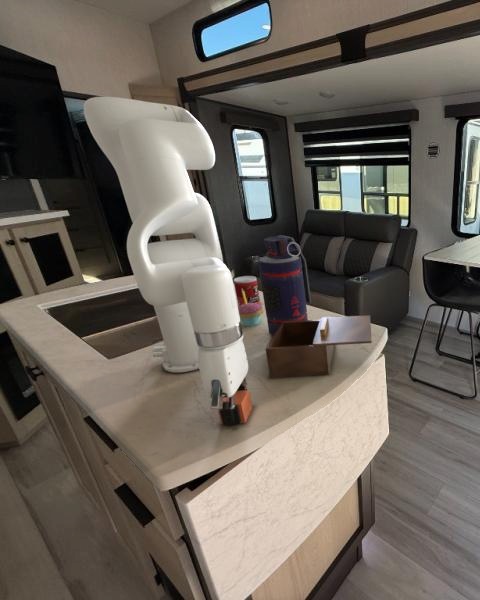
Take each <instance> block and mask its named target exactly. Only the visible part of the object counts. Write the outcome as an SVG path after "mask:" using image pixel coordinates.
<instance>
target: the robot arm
mask: <svg viewBox="0 0 480 600" xmlns="http://www.w3.org/2000/svg"><path fill="white" fill-rule="evenodd" d="M83 114H84V119H85V121H86V124H87V126H88V128H89V130H90V134H91V136H92V137H93V139H94V140H95V142H96V143H97V146H98V147H99V148H100V150H101V151H102V152H103V154H104V155H105V156H106V158H107V159H108V161H109V162H110V163H111V165H112V166H113V168H114V170H115V173H116V175H117V177H118V181H119V184H120V187H121V191H122V194H123V197H124V200H125V203H126V207H127V211H128V213H129V216H130V219H131V222H132V224H131V227H130V229H129V231H128V234H127V239H126V253H127V258H128V261H129V264H130V267H131V271H132V273H133V277H134V280H135V282H136V284H137V287H138V291H139V292H140V294H141V296H142V298H143V300H144V301H145V302H147V304H149V305H151V306H153V309H154V312H155V315H156V319H157V322H158V325H159V329H160V333H161V337H162V340H163V343H164V346H162V345H161V346H160V345H159V346H154V347H153V349H152V357H153V358H163V359H164V360H163V362H162V367H163V369H164V370H165V372H169V373H175V374H176V373H178V374H179V373H188V372H193V371H196V370H199V377H200V382H201V383H200V384H201V387H202V391H203V395H204V398H205V399H206V400H209V399H211V401H210V409H211V410H217V411H218V410H220V414H221V419H222V423H223V424H222V425H223V426H232V425H233V426H234V425H239V424H241V423H240V422H241V418H240V414H239V409H238V405H237V406H235V396H234V394H235V392H236V391H243V390H248V388H247V387H248V383H247V378H246V377H247V374H248V371H249V361H248V357H247V352H246V348H245V344H244V340H243V339H244V333H243V326H242V321H241V320H240V316H239V311H238V307H239V306H238V301H237V296H236V291H235V286H234V278H233V275H232V272H231V271H230V269H229V268H228V266H227V265H226V264H225V263H224V258H223V257H224V256H223V253H222V249H221V244H220V240H219V235H218V231H217V227H216V221H215V218H214V214H213V211H212V208H211V204H209V201H208V200H207V198H206V197H204V196H203V195H202V194H200V193H197V192H195V191H194V189H193V186H192V183H191V180H190V177H189V174H188V171H187V170H191V171H192V170H193V171H194V170H195V171H206V170H208V171H209V170H210V169H212V168H213V167H214V165H215V162H216V153H215V149H214V145H213V142H212V139H211V138H210V135H209V133H208V132H207V130H206V129H205V127H204V126H203V125H202V124H201V123H200V122H199V121H198V119H196V118H195V117H194V116H193V114H192V113H190V112H189V110H187V109H185V108H183V107H181V106H177V105H173V104H167V103H166V104H165V103H159V102H151V101H144V100H139V99H131V98H126V97H125V98H124V97H116V96H94V97H91V98H90V97H89V98H88V99H86V100H85V101H84V103H83ZM181 234H192V235H194V237H192V238H184V239H171V240H162V241H155V242H149V240H150V237H152V236H153V237H156V236H170V235H181ZM225 397H229V402H227V401H226V402H223V399H222V398H225Z"/></svg>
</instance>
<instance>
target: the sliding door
mask: <svg viewBox="0 0 480 600" xmlns="http://www.w3.org/2000/svg"><path fill="white" fill-rule="evenodd" d="M319 320H320V321H319V325H318V328H317V331H316V334H315V337H314V341H313V344H312V345H313V346H326V345H334V346H345V345H360V344H372V343H373V341H372V340H373V339H372V323H371V315H370V314H368V315H346V316H322V317H320V318H319Z"/></svg>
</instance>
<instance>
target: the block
mask: <svg viewBox="0 0 480 600" xmlns="http://www.w3.org/2000/svg"><path fill="white" fill-rule="evenodd" d="M234 396H235V406H237V405H238V409H239V414H240V418H241V422H240V424H245V423H247V420H248V418H249V416H250V414H251V412H252V410H253V405H252V404H253V403H252V398H251V394H250V390H249V389H247V390H243V391H236V392H235V394H234ZM222 399H223V402H226V401H227V402H229V397H225V398H222ZM217 411H218V415H219V419H220V424H221V425H223V423H222V419H221V414H220V410H218V409H217Z"/></svg>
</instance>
